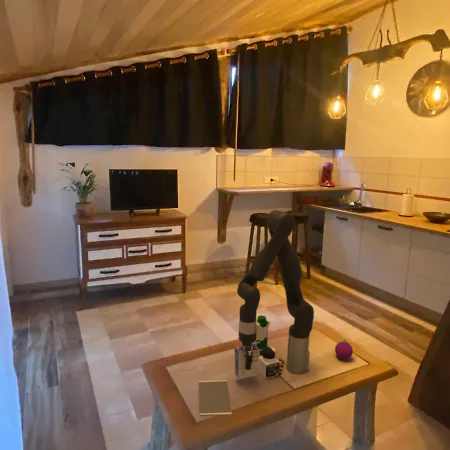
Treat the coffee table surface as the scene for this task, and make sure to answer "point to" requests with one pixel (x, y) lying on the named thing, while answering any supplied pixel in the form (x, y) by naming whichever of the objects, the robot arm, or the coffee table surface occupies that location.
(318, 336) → the coffee table surface
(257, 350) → the ink cartridge box
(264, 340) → the milk carton
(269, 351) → the medicine bottle
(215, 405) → the mat
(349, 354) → the christmas ornament
